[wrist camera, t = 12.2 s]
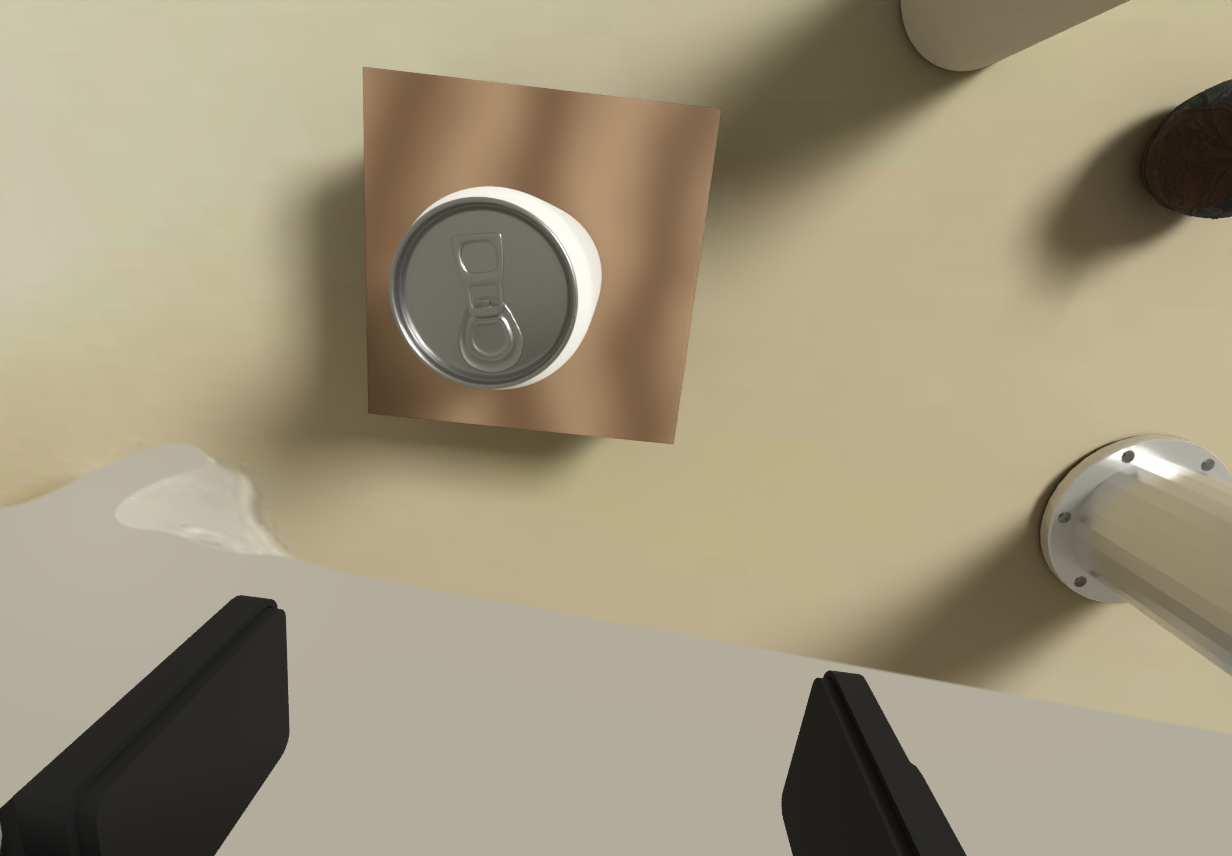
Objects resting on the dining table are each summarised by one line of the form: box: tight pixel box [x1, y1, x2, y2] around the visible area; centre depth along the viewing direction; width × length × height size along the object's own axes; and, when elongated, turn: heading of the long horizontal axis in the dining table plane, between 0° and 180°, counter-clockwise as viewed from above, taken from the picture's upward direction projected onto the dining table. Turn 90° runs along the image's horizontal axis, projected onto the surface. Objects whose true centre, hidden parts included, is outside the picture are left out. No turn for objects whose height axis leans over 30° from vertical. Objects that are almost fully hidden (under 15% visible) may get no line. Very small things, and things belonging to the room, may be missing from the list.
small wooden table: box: [363, 67, 721, 444], centre depth 34 cm, size 16×16×9 cm
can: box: [389, 186, 602, 390], centre depth 24 cm, size 6×6×12 cm
